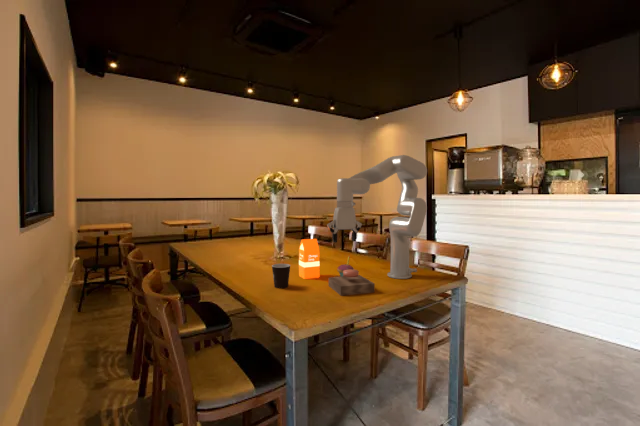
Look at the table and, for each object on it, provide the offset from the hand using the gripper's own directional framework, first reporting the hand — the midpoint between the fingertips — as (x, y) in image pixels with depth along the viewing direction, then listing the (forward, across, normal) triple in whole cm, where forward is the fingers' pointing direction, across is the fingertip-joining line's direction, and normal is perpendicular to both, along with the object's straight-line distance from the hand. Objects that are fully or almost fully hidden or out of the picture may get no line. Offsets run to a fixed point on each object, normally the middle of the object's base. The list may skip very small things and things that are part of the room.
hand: (344, 241), depth 152 cm
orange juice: (+22, +10, -24) cm, 34 cm away
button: (+15, -1, +4) cm, 16 cm away
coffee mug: (+22, +27, -12) cm, 37 cm away
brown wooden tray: (+21, -1, +4) cm, 22 cm away
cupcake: (+22, -7, -14) cm, 27 cm away
